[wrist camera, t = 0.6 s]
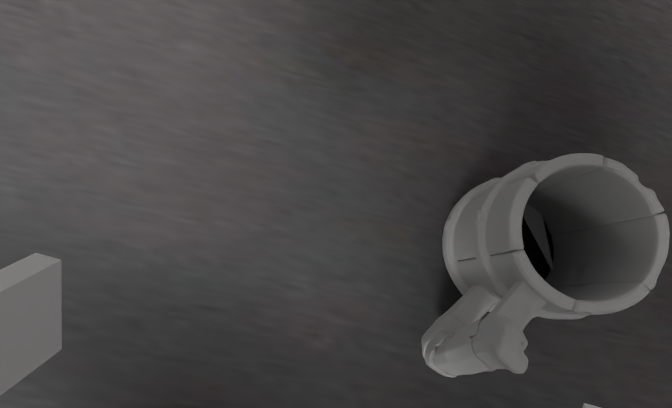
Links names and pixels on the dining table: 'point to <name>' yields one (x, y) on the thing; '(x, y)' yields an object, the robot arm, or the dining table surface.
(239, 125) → the dining table surface
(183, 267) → the dining table surface
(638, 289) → the mug
